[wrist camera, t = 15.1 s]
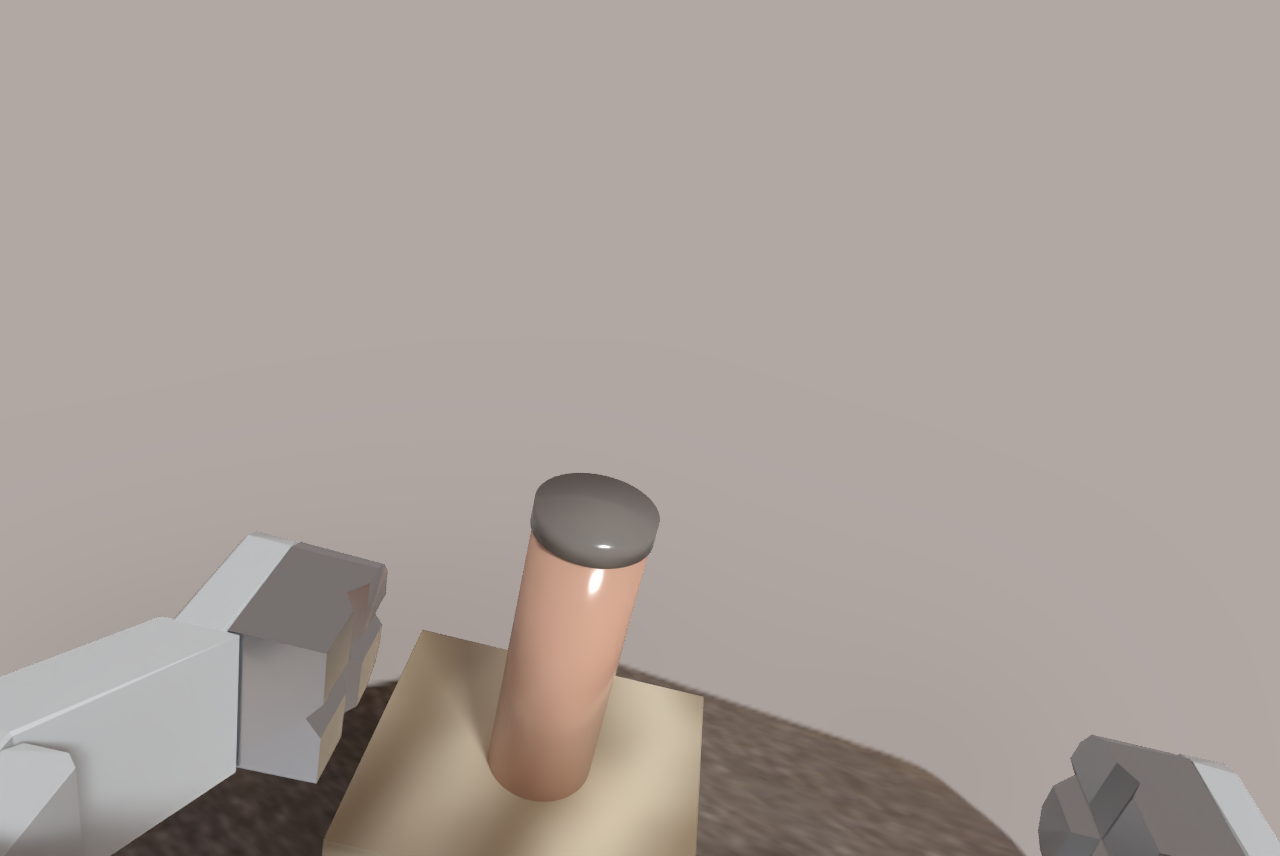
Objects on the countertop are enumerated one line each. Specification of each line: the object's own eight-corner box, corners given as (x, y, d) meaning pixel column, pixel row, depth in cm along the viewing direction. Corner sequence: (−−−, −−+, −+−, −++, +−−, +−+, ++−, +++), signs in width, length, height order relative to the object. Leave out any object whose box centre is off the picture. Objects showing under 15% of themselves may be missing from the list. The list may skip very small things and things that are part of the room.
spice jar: (473, 790, 37) (523, 527, 31) (498, 708, 41) (546, 462, 35) (584, 814, 37) (655, 557, 31) (598, 730, 42) (663, 489, 36)
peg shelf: (309, 996, 39) (323, 839, 34) (402, 772, 49) (422, 629, 45) (634, 1072, 39) (692, 926, 34) (656, 832, 49) (703, 697, 45)
